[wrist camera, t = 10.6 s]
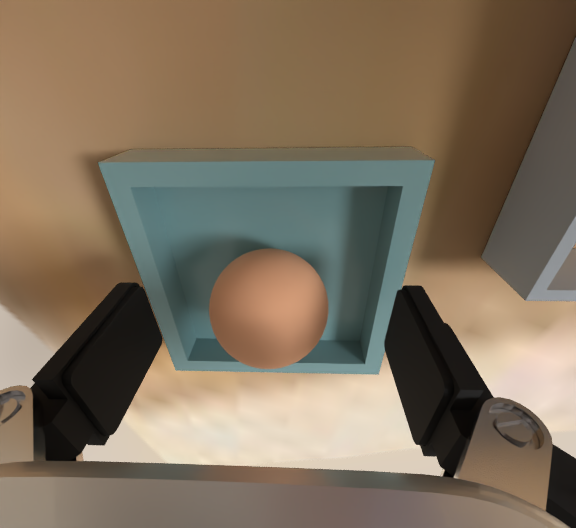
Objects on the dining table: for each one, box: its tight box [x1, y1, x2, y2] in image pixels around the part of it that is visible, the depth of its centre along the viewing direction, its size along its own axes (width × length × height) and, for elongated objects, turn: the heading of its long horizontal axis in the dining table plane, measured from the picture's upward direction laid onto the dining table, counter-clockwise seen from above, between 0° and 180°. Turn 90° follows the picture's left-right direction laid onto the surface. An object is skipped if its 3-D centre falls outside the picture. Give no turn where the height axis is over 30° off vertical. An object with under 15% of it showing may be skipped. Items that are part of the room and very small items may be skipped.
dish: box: [98, 147, 435, 374], centre depth 12 cm, size 11×11×2 cm
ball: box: [209, 248, 328, 369], centre depth 11 cm, size 5×5×5 cm
